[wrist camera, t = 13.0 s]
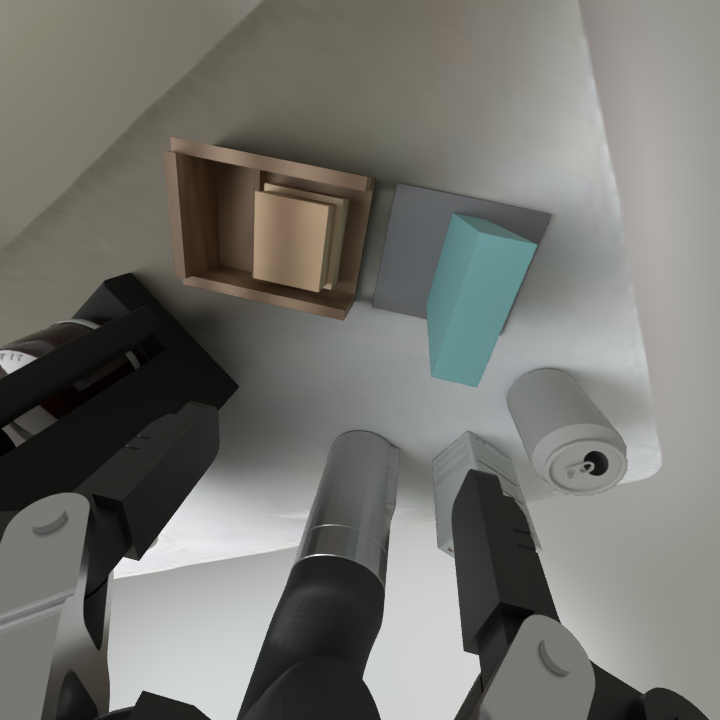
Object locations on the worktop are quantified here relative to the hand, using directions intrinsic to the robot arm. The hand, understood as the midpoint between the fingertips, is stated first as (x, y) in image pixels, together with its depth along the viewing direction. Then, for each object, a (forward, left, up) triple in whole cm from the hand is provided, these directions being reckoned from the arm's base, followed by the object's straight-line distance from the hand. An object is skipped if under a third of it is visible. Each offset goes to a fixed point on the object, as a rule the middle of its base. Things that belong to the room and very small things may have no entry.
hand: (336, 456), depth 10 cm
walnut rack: (+11, -2, -27) cm, 29 cm away
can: (-20, +10, -27) cm, 35 cm away
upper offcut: (+9, -2, -23) cm, 25 cm away
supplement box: (-16, +22, -27) cm, 39 cm away
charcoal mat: (-6, -2, -27) cm, 28 cm away
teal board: (-6, -2, -27) cm, 27 cm away
